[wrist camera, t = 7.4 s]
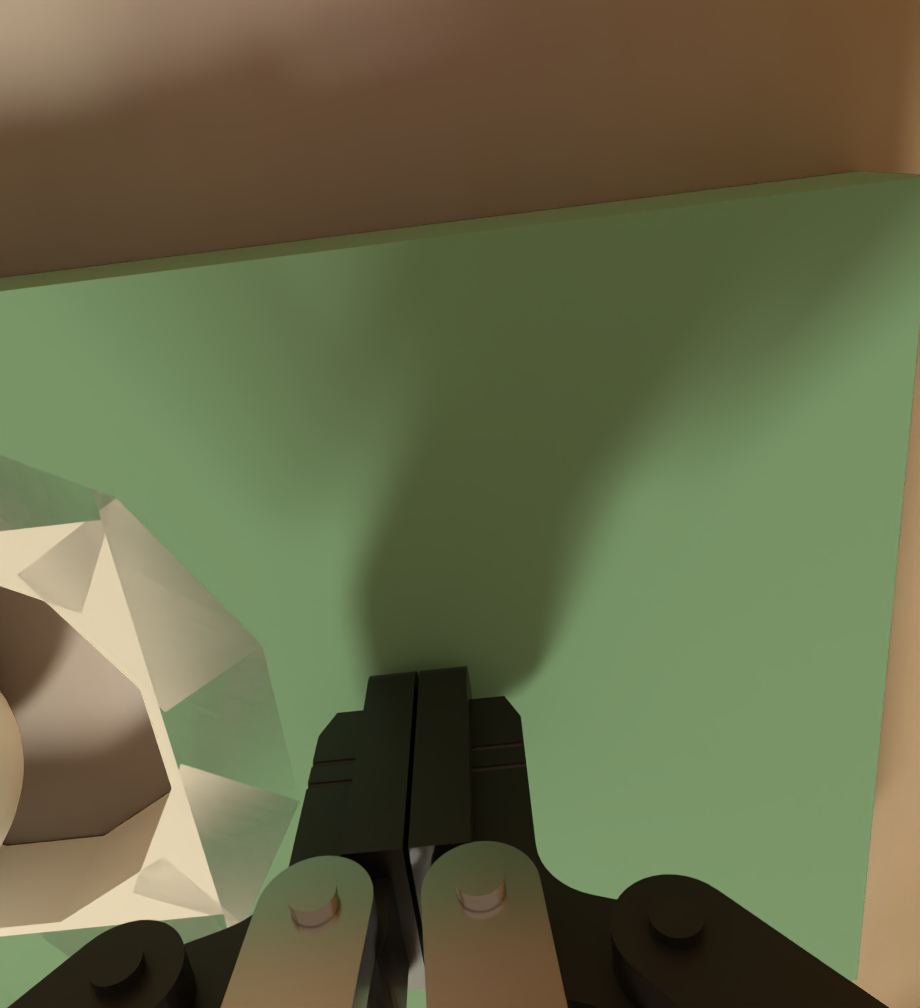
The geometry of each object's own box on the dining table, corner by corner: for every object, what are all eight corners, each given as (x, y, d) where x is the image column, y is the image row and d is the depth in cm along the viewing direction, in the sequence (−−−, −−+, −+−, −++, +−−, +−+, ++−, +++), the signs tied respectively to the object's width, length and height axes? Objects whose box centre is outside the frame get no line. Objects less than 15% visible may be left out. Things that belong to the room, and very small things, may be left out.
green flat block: (859, 170, 12) (934, 175, 10) (813, 892, 18) (857, 979, 16) (-524, 342, 13) (-687, 376, 11) (-153, 987, 18) (-220, 1082, 16)
